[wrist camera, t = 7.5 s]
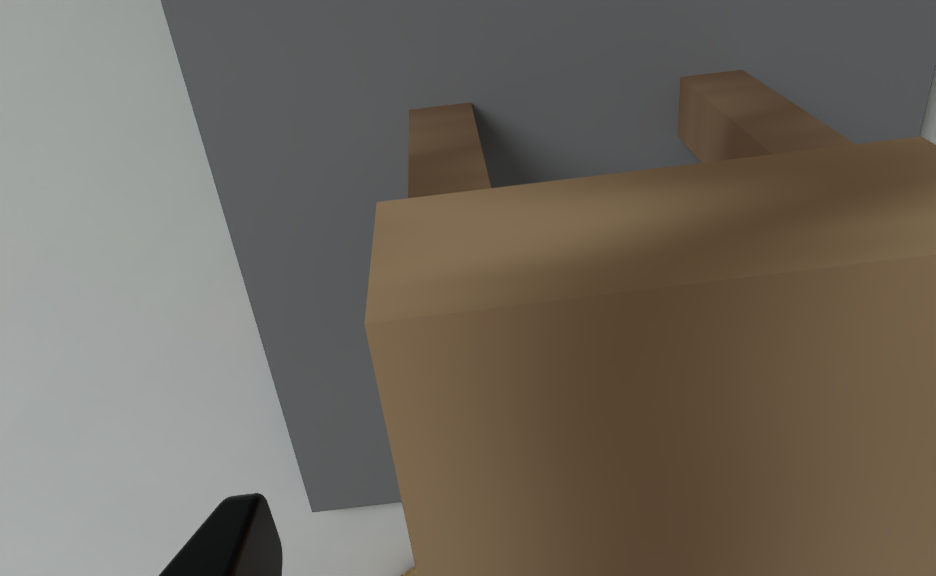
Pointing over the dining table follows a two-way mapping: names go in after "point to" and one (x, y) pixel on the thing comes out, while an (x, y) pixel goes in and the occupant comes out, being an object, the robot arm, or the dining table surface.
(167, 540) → the dining table surface
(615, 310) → the stool
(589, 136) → the mat
